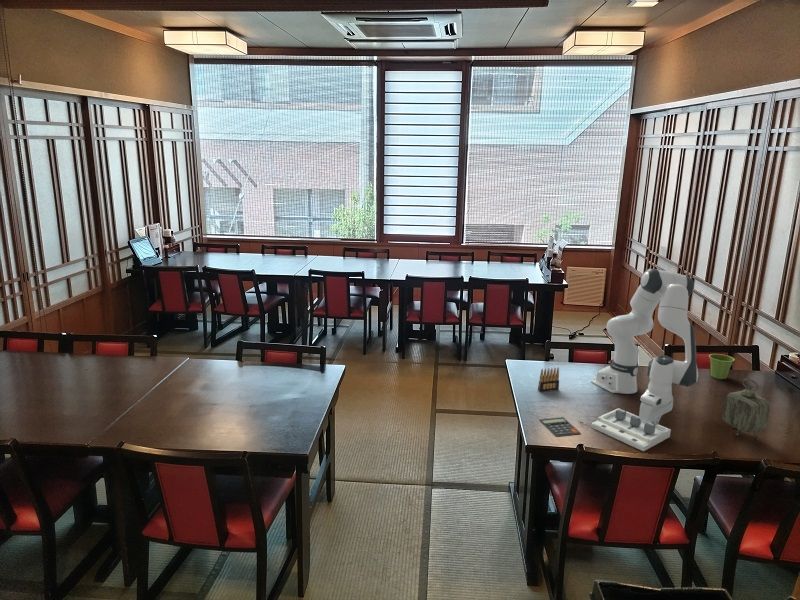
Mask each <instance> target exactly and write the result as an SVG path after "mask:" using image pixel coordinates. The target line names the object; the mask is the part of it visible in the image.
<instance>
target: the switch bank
mask: <svg viewBox="0 0 800 600" xmlns="http://www.w3.org/2000/svg"><path fill="white" fill-rule="evenodd" d="M618 409H621V408H620V407H618V408H616V409H614V410H613V409H612V411H609V412H607V413H604V414H602V415H600V416H598V417H597V420H595V421H593V422H592V423H591V426H590V427H591V428H592V429H594V430H596V431H597V432H601V433H602V434H605V435H606V436H609V437H611V438H613V439H616V440H618V441H620V442H622V443H624V444H627V445H629V446H630V447H632V448H635V449H637V450H639V451H642V452H645V451H647V450H648V449H650V448H652V447H654V446H656V445H658V444H659V443H661V442H664V441H665V440H666V439H669V438H670V437H671V431H672V429H670V428H668V427H666V426H663V425H661V424H658V425H657V426H655V433H653V434H651V435H650V434H648V433H645V432H644V425H645V424H646V422H645V421H642V420H641V425H640V426H638V427H635V426H633V425H630V419H631V416H633V415H635V414H634V413H631V412H629V411H627V410H625V411H626V419H624V420H622V421H621V420H619V419H616V418H615V415H616V410H618ZM650 423H651V421H650Z"/></svg>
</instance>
